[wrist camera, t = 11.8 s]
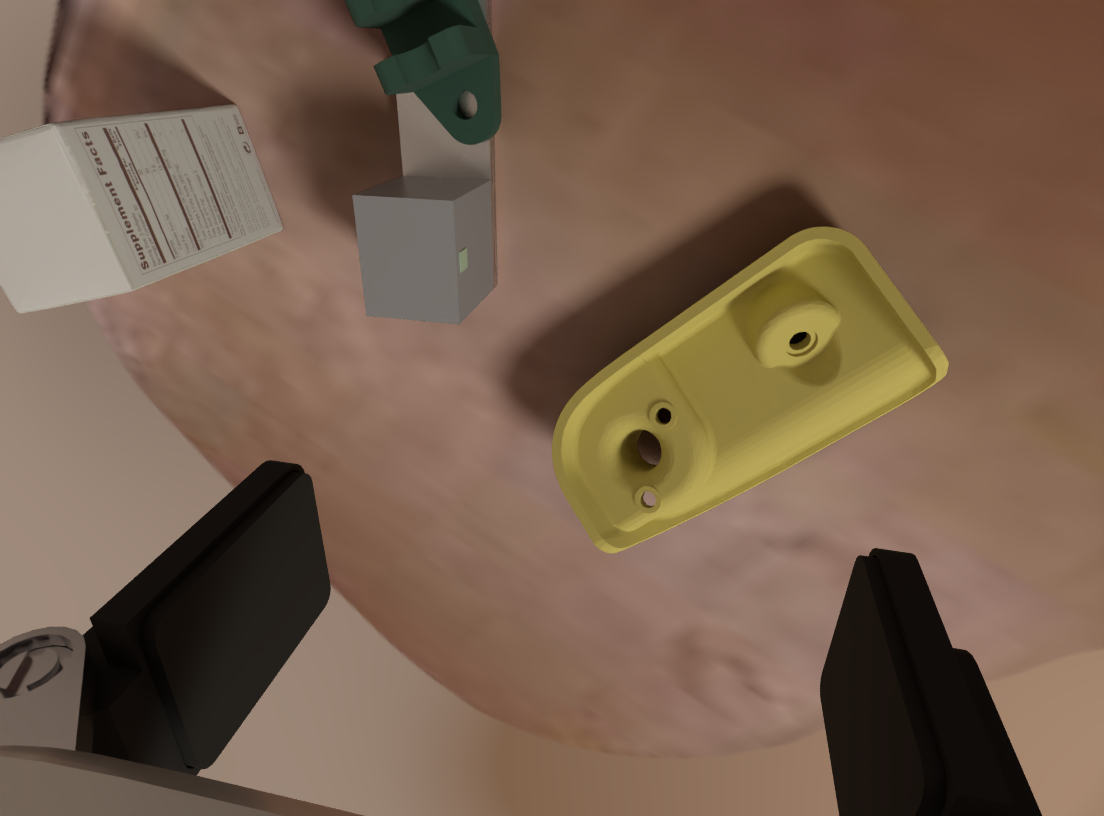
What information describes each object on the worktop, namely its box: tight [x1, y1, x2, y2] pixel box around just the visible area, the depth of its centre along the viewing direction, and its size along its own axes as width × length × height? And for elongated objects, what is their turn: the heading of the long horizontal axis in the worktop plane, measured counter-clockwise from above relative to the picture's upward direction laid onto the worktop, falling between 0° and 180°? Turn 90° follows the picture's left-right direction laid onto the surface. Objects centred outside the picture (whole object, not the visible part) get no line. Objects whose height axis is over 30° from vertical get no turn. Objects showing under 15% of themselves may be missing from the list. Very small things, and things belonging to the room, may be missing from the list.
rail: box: [396, 0, 497, 288], centre depth 34 cm, size 5×26×1 cm, turn 179°
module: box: [352, 176, 494, 324], centre depth 35 cm, size 5×6×6 cm
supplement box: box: [0, 104, 283, 313], centre depth 35 cm, size 7×7×13 cm
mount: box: [344, 0, 501, 145], centre depth 31 cm, size 11×4×5 cm, turn 22°
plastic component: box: [552, 227, 949, 553], centre depth 38 cm, size 20×7×10 cm
